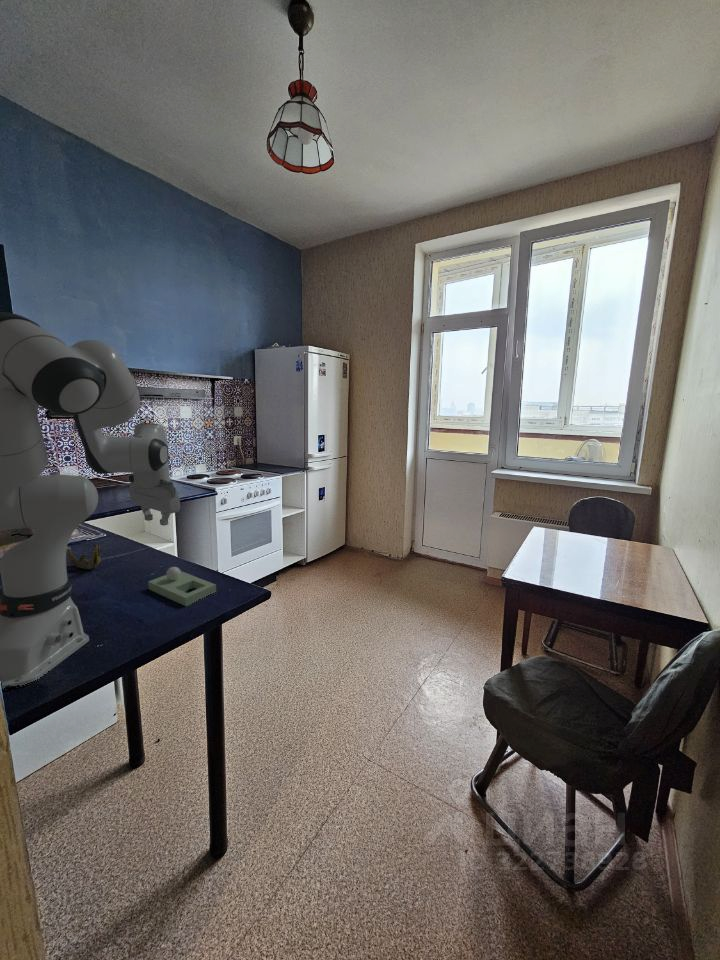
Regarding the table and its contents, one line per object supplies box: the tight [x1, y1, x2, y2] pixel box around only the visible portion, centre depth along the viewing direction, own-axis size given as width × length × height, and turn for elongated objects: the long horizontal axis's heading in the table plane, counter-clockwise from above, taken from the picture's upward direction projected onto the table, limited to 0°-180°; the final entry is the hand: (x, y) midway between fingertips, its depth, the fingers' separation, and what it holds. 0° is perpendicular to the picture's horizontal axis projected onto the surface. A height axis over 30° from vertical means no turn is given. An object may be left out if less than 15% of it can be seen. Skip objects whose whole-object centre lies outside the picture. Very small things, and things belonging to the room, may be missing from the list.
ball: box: [165, 566, 182, 580], centre depth 117 cm, size 4×4×4 cm
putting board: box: [147, 570, 217, 607], centre depth 115 cm, size 18×10×2 cm, turn 59°
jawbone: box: [67, 542, 102, 570], centre depth 129 cm, size 9×15×10 cm
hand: (156, 522), depth 118 cm, fingers open, 7 cm apart
